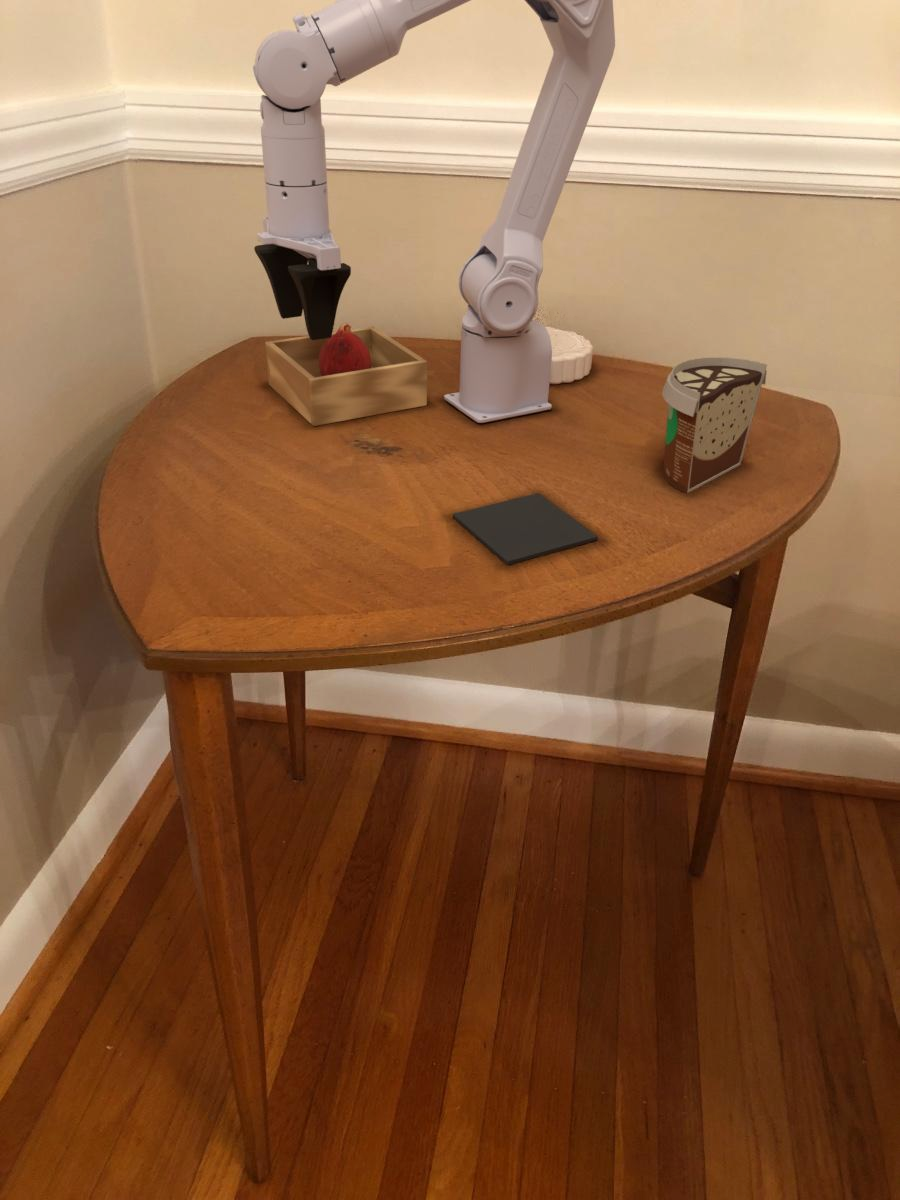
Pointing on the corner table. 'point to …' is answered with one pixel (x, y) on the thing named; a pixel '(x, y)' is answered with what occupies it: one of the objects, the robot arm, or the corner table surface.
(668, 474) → the food container
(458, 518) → the mat
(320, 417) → the wooden box
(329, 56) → the robot arm
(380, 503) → the corner table surface
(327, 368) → the onion
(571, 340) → the mooncake
